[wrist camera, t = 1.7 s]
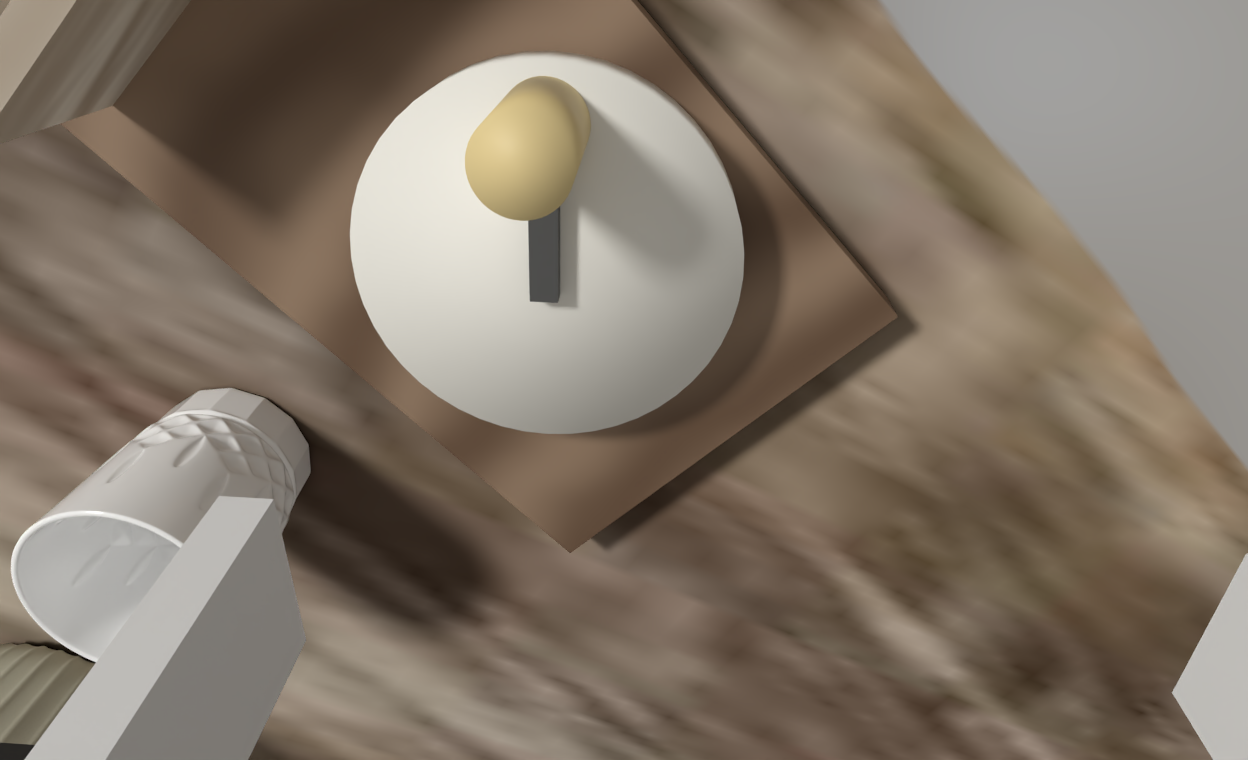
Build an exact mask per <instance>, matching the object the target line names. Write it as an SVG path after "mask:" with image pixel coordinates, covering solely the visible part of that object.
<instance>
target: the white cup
mask: <svg viewBox="0 0 1248 760" xmlns="http://www.w3.org/2000/svg"><path fill="white" fill-rule="evenodd" d="M310 473H311V466H310V454H309V445H308V443H307V441H306V440H305V438H304V436H303V435H302V433H301V431H300V430H299V428H298V427H297V425H296V423H295V422H294V420H293V419H292V418H291V417H290V416H289V415H287V414H286V413H285V412H283V411H282V410H281V409H279V408H278V407H277V406H275V405H274V404H272V403H271V402H270V401H268V400H267V399H266V398H264V397H260V396H257V395H254V394H251V393H247V392H244V391H241V390H238V389H234V388H223V389H211V390H200V391H198V392H196V393H195V394H193V395H192V396H190V397H189V398H187V399H185V400H184V401H182V402H181V403H179V404H178V405H176V406H175V407H173V408H172V409H171V410H170V411H169V412H168V413H167V414H166V415H164V416H163V417H162V418H161V419H160V420H159V421H158V422H157V423H154V424H152V425H150V426H149V427H147V428H146V429H145V430H144V431H142V432H141V433H140V434H139V435H138V436H137V437H135V438H134V439H133V440H132V441H130V442H129V443H128V444H127V445H125V446H124V447H123V448H121V449H120V450H119V451H118V452H117V453H115V454H114V455H113V456H112V457H111V458H109V459H108V460H107V461H106V462H105V463H104V464H103V465H101V466H100V467H99V468H98V469H97V470H96V471H95V472H93V473H92V474H91V475H90V476H89V477H88V478H87V479H85V480H84V481H83V482H82V483H81V484H80V485H79V486H77V487H76V488H75V489H74V490H73V491H72V492H70V493H69V494H68V495H67V496H66V497H65V498H64V499H62V500H61V501H60V502H59V503H58V504H57V505H55V506H54V507H53V508H52V509H51V510H50V511H48V512H47V513H46V514H45V515H44V516H43V517H41V518H40V519H39V520H38V521H37V522H35V523H34V524H33V525H32V526H31V527H30V528H28V529H27V530H26V531H25V532H24V533H23V535H22V536H21V537H20V539H19V540H18V542H17V544H16V546H15V548H14V551H13V554H12V559H11V575H12V581H13V584H14V588H15V590H16V593H17V595H18V597H19V599H20V601H21V603H22V604H23V606H24V608H25V609H26V611H27V612H28V613H29V615H30V616H31V617H32V618H33V619H34V621H35V622H36V623H37V624H38V625H39V626H40V627H41V628H42V629H43V630H44V631H45V632H46V633H48V634H49V635H50V636H51V637H52V638H54V639H55V640H56V641H58V642H59V643H60V644H62V645H63V646H65V647H67V648H68V649H70V650H71V651H73V652H75V653H77V654H79V655H81V656H83V657H85V658H87V659H89V660H91V661H94V662H97V661H98V659H99V658H100V656H101V655H102V654H103V652H104V651H105V650H106V648H107V647H108V646H109V644H110V643H111V642H112V640H113V639H114V637H115V636H116V635H117V633H118V632H119V631H120V629H121V628H122V627H123V625H124V624H125V623H126V621H127V620H128V619H129V617H130V616H131V614H132V613H133V612H134V610H135V609H136V608H137V606H138V605H139V604H140V602H141V601H142V600H143V598H144V597H145V595H146V594H147V593H148V591H149V590H150V589H151V587H152V586H153V585H154V583H155V582H156V581H157V579H158V578H159V577H160V575H161V574H162V572H163V571H164V570H165V568H166V567H167V566H168V564H169V563H170V562H171V560H172V559H173V558H174V556H175V555H176V553H177V552H178V551H179V549H180V548H181V547H182V545H183V544H184V543H185V541H186V540H187V539H188V537H189V536H190V534H191V533H192V532H193V530H194V529H195V528H196V526H197V525H198V524H199V522H200V521H201V520H202V518H203V517H204V516H205V514H206V513H207V511H208V510H209V509H210V507H211V506H212V505H213V503H214V502H215V501H216V499H217V498H218V497H219V496H227V497H245V498H263V499H274V503H275V507H276V511H277V516H278V520H279V524H280V529H281V533H282V532H283V530H284V528H285V526H286V524H287V523H288V521H289V516H290V512H291V510H292V508H293V505H294V503H295V501H296V499H297V497H298V495H299V494H300V492H301V490H302V488H303V486H304V484H305V483H306V481H307V479H308V477H309V475H310Z"/></svg>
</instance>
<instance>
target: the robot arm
mask: <svg viewBox="0 0 1248 760" xmlns="http://www.w3.org/2000/svg"><path fill="white" fill-rule="evenodd" d="M305 641H306V637H305V633H304V629H303V624H302V620H301V616H300V611H299V607H298V603H297V598H296V594H295V590H294V585H293V581H292V577H291V572H290V568H289V564H288V559H287V555H286V550H285V546H284V542H283V537H282V533H281V529H280V524H279V520H278V516H277V511H276V507H275V503H274V499H263V498H245V497H227V496H219V497H218V498H217V499H216V501H215V502H214V503H213V505H212V506H211V507H210V509H209V510H208V511H207V513H206V514H205V516H204V517H203V518H202V520H201V521H200V522H199V524H198V525H197V526H196V528H195V529H194V530H193V532H192V533H191V534H190V536H189V537H188V539H187V540H186V541H185V543H184V544H183V545H182V547H181V548H180V549H179V551H178V552H177V553H176V555H175V556H174V558H173V559H172V560H171V562H170V563H169V564H168V566H167V567H166V568H165V570H164V571H163V572H162V574H161V575H160V577H159V578H158V579H157V581H156V582H155V583H154V585H153V586H152V587H151V589H150V590H149V591H148V593H147V594H146V595H145V597H144V598H143V600H142V601H141V602H140V604H139V605H138V606H137V608H136V609H135V610H134V612H133V613H132V614H131V616H130V617H129V619H128V620H127V621H126V623H125V624H124V625H123V627H122V628H121V629H120V631H119V632H118V633H117V635H116V636H115V637H114V639H113V640H112V642H111V643H110V644H109V646H108V647H107V648H106V650H105V651H104V652H103V654H102V655H101V656H100V658H99V659H98V661H97V662H96V663H95V665H94V666H93V667H92V669H91V670H90V671H89V673H88V674H87V675H86V677H85V678H84V680H83V681H82V682H81V684H80V685H79V686H78V688H77V689H76V690H75V692H74V693H73V694H72V696H71V697H70V698H69V700H68V701H67V703H66V704H65V705H64V707H63V708H62V709H61V711H60V712H59V713H58V715H57V716H56V717H55V719H54V720H53V722H52V723H51V724H50V726H49V727H48V728H47V730H46V731H45V732H44V734H43V735H42V736H41V738H40V739H39V741H38V742H37V743H36V745H29V744H14V743H0V760H248V759H249V757H250V755H251V753H252V751H253V749H254V747H255V745H256V743H257V741H258V739H259V736H260V734H261V732H262V730H263V728H264V726H265V724H266V722H267V720H268V718H269V716H270V714H271V712H272V710H273V708H274V705H275V703H276V701H277V699H278V697H279V695H280V693H281V691H282V689H283V687H284V685H285V683H286V681H287V679H288V677H289V674H290V672H291V670H292V668H293V666H294V664H295V662H296V660H297V658H298V656H299V654H300V652H301V650H302V648H303V645H304V643H305ZM1172 693H1173V695H1174V697H1175V698H1176V700H1177V702H1178V703H1179V705H1180V707H1181V708H1182V710H1183V711H1184V713H1185V715H1186V716H1187V718H1188V720H1189V721H1190V723H1191V725H1192V726H1193V728H1194V729H1195V731H1196V733H1197V734H1198V736H1199V738H1200V739H1201V741H1202V743H1203V744H1204V746H1205V747H1206V749H1207V751H1208V752H1209V754H1210V756H1211V757H1212V759H1213V760H1248V554H1246V555H1245V557H1244V559H1243V561H1242V563H1241V565H1240V566H1239V568H1238V570H1237V572H1236V574H1235V576H1234V578H1233V580H1232V581H1231V583H1230V585H1229V587H1228V589H1227V591H1226V593H1225V595H1224V596H1223V598H1222V600H1221V602H1220V604H1219V606H1218V608H1217V610H1216V611H1215V613H1214V615H1213V617H1212V619H1211V621H1210V623H1209V624H1208V626H1207V628H1206V630H1205V632H1204V634H1203V636H1202V638H1201V639H1200V641H1199V643H1198V645H1197V647H1196V649H1195V651H1194V653H1193V654H1192V656H1191V658H1190V660H1189V662H1188V664H1187V666H1186V668H1185V669H1184V671H1183V673H1182V675H1181V677H1180V679H1179V681H1178V683H1177V684H1176V686H1175V688H1174V690H1173V692H1172Z"/></svg>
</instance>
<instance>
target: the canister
mask: <svg viewBox="0 0 1248 760" xmlns="http://www.w3.org/2000/svg"><path fill="white" fill-rule="evenodd" d="M94 665H95V663H91V662H88V661H86V660H84V659H82V658H81V657H80V656H73V655H70V654H67V653H66V652H64V651H63V650H53V649H50V648H48V647H46V646H39V647H36V646H32V645H30V644H20V645H15V644H11V643H6V644H1V645H0V743H14V744H29V745H36V743H37V742H38V741H39V739H40V738H41V736H42V735H43V734H44V732H45V731H46V730H47V728H48V727H49V726H50V724H51V723H52V722H53V720H54V719H55V717H56V716H57V715H58V713H59V712H60V711H61V709H62V708H63V707H64V705H65V704H66V703H67V701H68V700H69V698H70V697H71V696H72V694H73V693H74V692H75V690H76V689H77V688H78V686H79V685H80V684H81V682H82V681H83V680H84V678H85V677H86V675H87V674H88V673H89V671H90V670H91V669H92V667H93V666H94Z"/></svg>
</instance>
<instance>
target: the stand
mask: <svg viewBox="0 0 1248 760" xmlns="http://www.w3.org/2000/svg"><path fill="white" fill-rule="evenodd" d="M524 51H560V52H569V53H578V54H582V55H586V56H590V57H594V58H598V59H602V60H606V61H608V62H611V63H613V64H615V65H618V66H620V67H623V68H625V69H628V70H630V71H632V72H634V73H636V74H637V75H639V76H641V77H642V78H644V79H646V80H648V81H649V82H651V83H653V84H655V85H656V86H657V87H658V88H660V89H661V90H662V91H664V92H665V93H666V94H668V95H669V96H670V97H671V98H673V99H674V100H675V101H676V102H677V103H678V104H679V105H680V106H681V107H682V108H683V109H684V110H685V111H686V112H687V113H688V114H689V115H690V116H691V117H692V118H693V119H694V120H695V121H696V123H697V124H698V125H699V127H700V128H701V129H702V131H703V132H704V133H705V135H706V136H707V137H708V138H709V140H710V141H711V143H712V145H713V147H714V149H715V150H716V152H717V154H718V156H719V157H720V159H721V161H722V163H723V165H724V168H725V170H726V173H727V176H728V178H729V181H730V183H731V186H732V189H733V193H734V197H735V202H736V206H737V210H738V214H739V218H740V222H741V226H742V234H743V245H744V272H743V282H742V287H741V293H740V298H739V302H738V305H737V309H736V312H735V315H734V318H733V321H732V324H731V326H730V328H729V330H728V332H727V334H726V336H725V338H724V340H723V342H722V344H721V346H720V347H719V349H718V350H717V352H716V353H715V355H714V356H713V357H712V359H711V360H710V362H709V363H708V365H707V366H706V367H705V368H704V369H703V370H702V371H701V373H700V374H699V375H698V376H697V377H696V378H695V379H694V380H693V381H692V382H691V383H690V384H689V385H688V386H687V387H685V388H684V389H683V390H682V391H681V392H680V393H679V394H677V395H676V396H675V397H673V398H672V399H670V400H669V401H667V402H666V403H664V404H663V405H661V406H660V407H658V408H657V409H655V410H653V411H651V412H649V413H647V414H645V415H643V416H641V417H639V418H637V419H634V420H631V421H628V422H626V423H623V424H620V425H617V426H614V427H610V428H605V429H601V430H597V431H592V432H583V433H574V434H544V433H535V432H525V431H520V430H516V429H511V428H507V427H502V426H499V425H496V424H493V423H490V422H488V421H485V420H482V419H479V418H477V417H475V416H473V415H470V414H468V413H466V412H464V411H462V410H460V409H458V408H456V407H454V406H453V405H451V404H449V403H448V402H446V401H445V400H443V399H441V398H440V397H438V396H437V395H435V394H434V393H433V392H431V391H430V390H429V389H428V388H426V387H425V386H424V385H422V384H421V383H420V382H419V381H418V380H417V379H416V378H415V377H414V376H412V375H411V374H410V373H409V372H408V371H407V370H406V369H405V368H404V367H403V366H402V365H401V364H400V362H399V361H398V360H397V359H396V357H395V356H394V355H393V354H392V353H391V351H390V350H389V349H388V348H387V346H386V345H385V343H384V342H383V340H382V338H381V337H380V335H379V334H378V332H377V331H376V329H375V328H374V326H373V324H372V322H371V319H370V317H369V315H368V313H367V311H366V309H365V307H364V305H363V302H362V299H361V296H360V293H359V290H358V287H357V284H356V280H355V275H354V270H353V265H352V260H351V246H350V225H351V212H352V206H353V201H354V197H355V193H356V188H357V184H358V182H359V179H360V176H361V174H362V171H363V169H364V166H365V164H366V161H367V159H368V157H369V156H370V154H371V152H372V150H373V149H374V147H375V145H376V143H377V142H378V140H379V138H380V137H381V136H382V135H383V133H384V132H385V131H386V130H387V128H388V127H389V126H390V124H391V123H392V122H393V121H394V119H395V118H396V117H397V116H398V115H399V114H401V113H402V112H403V111H404V110H405V109H406V108H407V107H408V106H409V105H410V104H411V103H412V102H413V101H414V100H416V99H417V98H419V97H420V96H421V95H423V94H424V93H425V92H427V91H428V90H430V89H431V88H432V87H434V86H435V85H437V84H438V83H440V82H441V81H443V80H444V79H446V78H447V77H448V76H450V75H452V74H454V73H456V72H458V71H460V70H462V69H464V68H466V67H468V66H470V65H472V64H474V63H477V62H481V61H484V60H487V59H490V58H493V57H496V56H500V55H506V54H512V53H518V52H524ZM57 124H61V125H63V126H64V127H65V128H66V129H67V130H69V131H70V132H71V133H72V134H73V135H75V136H76V137H77V138H78V139H79V140H80V141H82V142H83V143H84V144H85V145H86V146H88V147H89V148H90V149H91V150H92V151H94V152H95V153H96V154H97V155H98V156H99V157H101V158H102V159H103V160H104V161H105V162H107V163H108V164H109V165H110V166H111V167H113V168H114V169H115V170H116V171H117V172H118V173H120V174H121V175H122V176H123V177H124V178H126V179H127V180H128V181H129V182H130V183H131V184H133V185H134V186H135V187H136V188H137V189H139V190H140V191H141V192H142V193H143V194H145V195H146V196H147V197H148V198H149V199H150V200H152V201H153V202H154V203H155V204H156V205H158V206H159V207H160V208H161V209H162V210H164V211H165V212H166V213H167V214H168V215H169V216H171V217H172V218H173V219H174V220H175V221H177V222H178V223H179V224H180V225H181V226H183V227H184V228H185V229H186V230H187V231H188V232H190V233H191V234H192V235H193V236H194V237H196V238H197V239H198V240H199V241H200V242H202V243H203V244H204V245H205V246H206V247H207V248H209V249H210V250H211V251H212V252H213V253H215V254H216V255H217V256H218V257H219V258H220V259H222V260H223V261H224V262H225V263H226V264H228V265H229V266H230V267H231V268H232V269H234V270H235V271H236V272H237V273H238V274H239V275H241V276H242V277H243V278H244V279H245V280H247V281H248V282H249V283H250V284H251V285H253V286H254V287H255V288H256V289H257V290H258V291H260V292H261V293H262V294H263V295H264V296H266V297H267V298H268V299H269V300H270V301H272V302H273V303H274V304H275V305H276V306H277V307H279V308H280V309H281V310H282V311H283V312H285V313H286V314H287V315H288V316H289V317H291V318H292V319H293V320H294V321H295V322H296V323H298V324H299V325H300V326H301V327H302V328H304V329H305V330H306V331H307V332H308V333H309V334H311V335H312V336H313V337H314V338H315V339H317V340H318V341H319V342H320V343H321V344H323V345H324V346H325V347H326V348H327V349H328V350H330V351H331V352H332V353H333V354H334V355H336V356H337V357H338V358H339V359H340V360H342V361H343V362H344V363H345V364H346V365H347V366H349V367H350V368H351V369H352V370H353V371H355V372H356V373H357V374H358V375H359V376H361V377H362V378H363V379H364V380H365V381H366V382H368V383H369V384H370V385H371V386H372V387H374V388H375V389H376V390H377V391H378V392H380V393H381V394H382V395H383V396H384V397H385V398H387V399H388V400H389V401H390V402H391V403H393V404H394V405H395V406H396V407H397V408H399V409H400V410H401V411H402V412H403V413H404V414H406V415H407V416H408V417H409V418H410V419H412V420H413V421H414V422H415V423H416V424H417V425H419V426H420V427H421V428H422V429H423V430H425V431H426V432H427V433H428V434H429V435H431V436H432V437H433V438H434V439H435V440H436V441H438V442H439V443H440V444H441V445H442V446H444V447H445V448H446V449H447V450H448V451H450V452H451V453H452V454H453V455H454V456H455V457H457V458H458V459H459V460H460V461H461V462H463V463H464V464H465V465H466V466H467V467H469V468H470V469H471V470H472V471H473V472H474V473H476V474H477V475H478V476H479V477H480V478H482V479H483V480H484V481H485V482H486V483H488V484H489V485H490V486H491V487H492V488H493V489H495V490H496V491H497V492H498V493H499V494H501V495H502V496H503V497H504V498H505V499H506V500H508V501H509V502H510V503H511V504H512V505H514V506H515V507H516V508H517V509H518V510H520V511H521V512H522V513H523V514H524V515H525V516H527V517H528V518H529V519H530V520H531V521H533V522H534V523H535V524H536V525H537V526H539V527H540V528H541V529H542V530H543V531H544V532H546V533H547V534H548V535H549V536H550V537H552V538H553V539H554V540H555V541H556V542H558V543H559V544H560V545H561V546H562V547H563V548H565V549H566V550H567V551H568V552H569V553H571V552H572V551H574V550H575V549H576V548H578V547H579V546H581V545H582V544H583V543H585V542H586V541H587V540H589V539H590V538H592V537H593V536H594V535H596V534H597V533H599V532H600V531H601V530H603V529H604V528H606V527H607V526H608V525H610V524H611V523H612V522H614V521H615V520H617V519H618V518H619V517H621V516H622V515H624V514H625V513H626V512H628V511H629V510H631V509H632V508H633V507H635V506H636V505H637V504H639V503H640V502H642V501H643V500H644V499H646V498H647V497H649V496H650V495H651V494H653V493H654V492H655V491H657V490H658V489H660V488H661V487H662V486H664V485H665V484H667V483H668V482H669V481H671V480H672V479H674V478H675V477H676V476H678V475H679V474H680V473H682V472H683V471H685V470H686V469H687V468H689V467H690V466H692V465H693V464H694V463H696V462H697V461H699V460H700V459H701V458H703V457H704V456H705V455H707V454H708V453H710V452H711V451H712V450H714V449H715V448H717V447H718V446H719V445H721V444H722V443H724V442H725V441H726V440H728V439H729V438H730V437H732V436H733V435H735V434H736V433H737V432H739V431H740V430H742V429H743V428H744V427H746V426H747V425H749V424H750V423H751V422H753V421H754V420H755V419H757V418H758V417H760V416H761V415H762V414H764V413H765V412H767V411H768V410H769V409H771V408H772V407H773V406H775V405H776V404H778V403H779V402H780V401H782V400H783V399H785V398H786V397H787V396H789V395H790V394H792V393H793V392H794V391H796V390H797V389H798V388H800V387H801V386H803V385H804V384H805V383H807V382H808V381H810V380H811V379H812V378H814V377H815V376H817V375H818V374H819V373H821V372H822V371H823V370H825V369H826V368H828V367H829V366H830V365H832V364H833V363H835V362H836V361H837V360H839V359H840V358H842V357H843V356H844V355H846V354H847V353H848V352H850V351H851V350H853V349H854V348H855V347H857V346H858V345H860V344H861V343H862V342H864V341H865V340H866V339H868V338H869V337H871V336H872V335H873V334H875V333H876V332H878V331H879V330H880V329H882V328H883V327H885V326H886V325H887V324H889V323H890V322H891V321H893V320H894V319H896V318H897V317H898V315H897V314H896V312H895V310H894V308H893V307H892V305H891V303H890V302H889V300H888V298H887V296H886V295H885V294H884V293H883V292H882V290H881V289H880V288H879V287H878V286H877V285H876V283H875V282H874V281H873V280H872V279H871V277H870V276H869V275H868V274H867V273H866V271H865V270H864V269H863V268H862V267H861V266H860V264H859V263H858V262H857V261H856V260H855V258H854V257H853V256H852V255H851V254H850V252H849V251H848V250H847V249H846V248H845V247H844V245H843V244H842V243H841V242H840V241H839V239H838V238H837V237H836V236H835V235H834V233H833V232H832V231H831V230H830V229H829V227H828V226H827V225H826V224H825V223H824V222H823V220H822V219H821V218H820V217H819V216H818V214H817V213H816V212H815V211H814V210H813V208H812V207H811V206H810V205H809V204H808V203H807V201H806V200H805V199H804V198H803V197H802V195H801V194H800V193H799V192H798V191H797V189H796V188H795V187H794V186H793V185H792V184H791V182H790V181H789V180H788V179H787V178H786V176H785V175H784V174H783V173H782V172H781V170H780V169H779V168H778V167H777V166H776V164H775V163H774V162H773V161H772V160H771V159H770V157H769V156H768V155H767V154H766V153H765V151H764V150H763V149H762V148H761V147H760V145H759V144H758V143H757V142H756V141H755V140H754V138H753V137H752V136H751V135H750V134H749V132H748V131H747V130H746V129H745V128H744V126H743V125H742V124H741V123H740V122H739V121H738V119H737V118H736V117H735V116H734V115H733V113H732V112H731V111H730V110H729V109H728V107H727V106H726V105H725V104H724V103H723V101H722V100H721V99H720V98H719V97H718V96H717V94H716V93H715V92H714V91H713V90H712V88H711V87H710V86H709V85H708V84H707V82H706V81H705V80H704V79H703V78H702V77H701V75H700V74H699V73H698V72H697V71H696V69H695V68H694V67H693V66H692V65H691V63H690V62H689V61H688V60H687V59H686V58H685V56H684V55H683V54H682V53H681V52H680V50H679V49H678V48H677V47H676V46H675V44H674V43H673V42H672V41H671V40H670V39H669V37H668V36H667V35H666V34H665V33H664V31H663V30H662V29H661V28H660V27H659V25H658V24H657V23H656V22H655V21H654V19H653V18H652V17H651V16H650V15H649V14H648V12H647V11H646V10H645V9H644V8H643V6H642V5H641V4H640V3H639V2H638V0H11V1H10V2H9V4H8V5H7V7H6V9H5V10H4V12H3V13H2V15H1V16H0V144H1V143H4V142H7V141H10V140H13V139H16V138H19V137H22V136H25V135H28V134H31V133H34V132H37V131H40V130H43V129H46V128H48V127H51V126H54V125H57Z"/></svg>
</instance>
